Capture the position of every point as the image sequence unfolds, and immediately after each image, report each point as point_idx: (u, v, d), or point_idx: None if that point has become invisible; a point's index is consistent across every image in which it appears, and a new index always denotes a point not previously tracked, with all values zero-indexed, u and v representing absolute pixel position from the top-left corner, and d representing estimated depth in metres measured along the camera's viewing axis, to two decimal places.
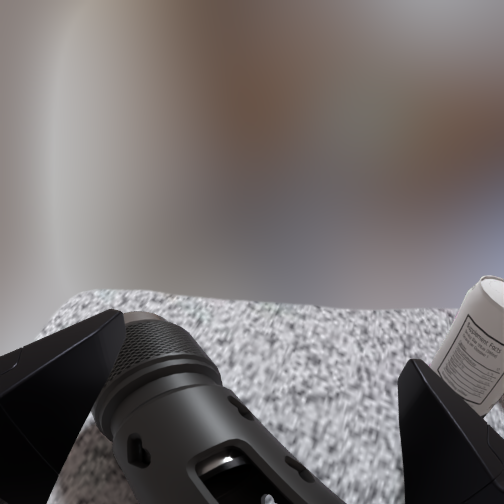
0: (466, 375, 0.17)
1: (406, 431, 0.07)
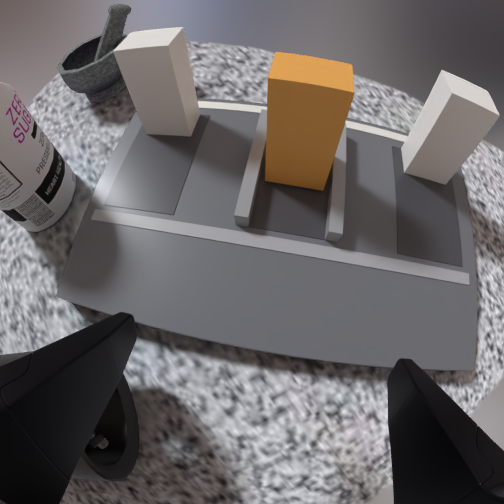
0: None
1: (395, 431, 0.07)
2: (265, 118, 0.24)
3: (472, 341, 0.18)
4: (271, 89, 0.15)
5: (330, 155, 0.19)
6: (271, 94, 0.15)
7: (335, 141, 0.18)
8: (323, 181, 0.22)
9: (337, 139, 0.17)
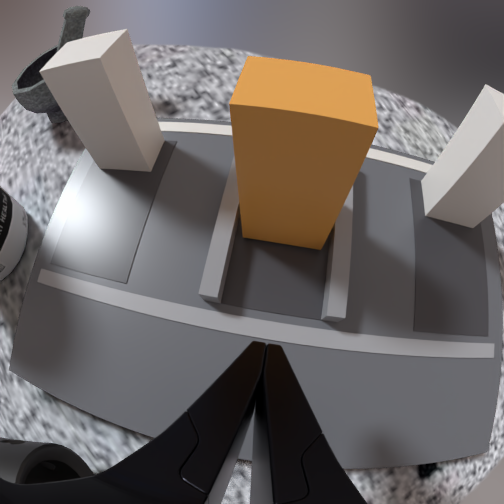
0: None
1: (255, 422, 0.07)
2: None
3: (489, 422, 0.13)
4: (237, 122, 0.09)
5: (332, 213, 0.13)
6: (238, 130, 0.10)
7: (341, 196, 0.12)
8: (321, 240, 0.16)
9: (344, 193, 0.12)
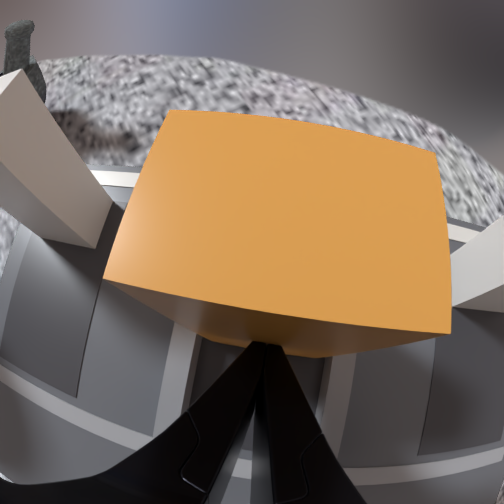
0: None
1: (255, 422, 0.07)
2: None
3: None
4: (137, 296, 0.04)
5: (332, 353, 0.09)
6: (146, 301, 0.05)
7: (347, 352, 0.07)
8: (315, 356, 0.11)
9: (352, 351, 0.07)
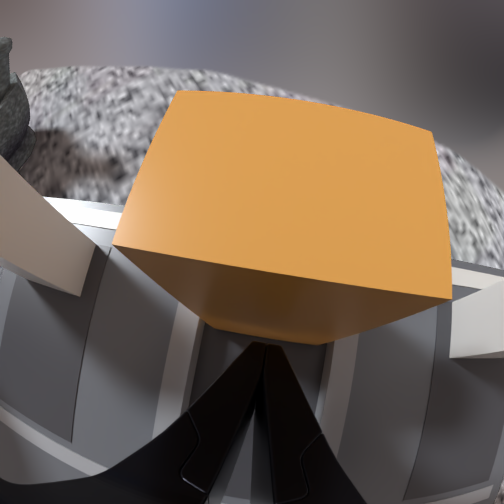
0: None
1: (255, 422, 0.07)
2: None
3: None
4: (144, 266, 0.04)
5: (335, 336, 0.09)
6: (153, 272, 0.05)
7: (350, 332, 0.07)
8: (317, 343, 0.12)
9: (355, 331, 0.07)
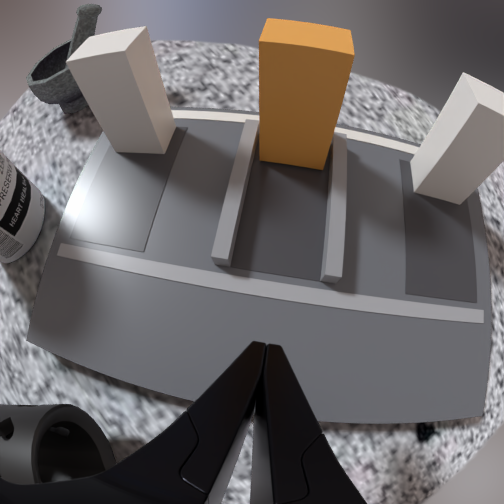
0: None
1: (255, 422, 0.07)
2: (250, 130, 0.21)
3: (482, 386, 0.15)
4: (263, 54, 0.13)
5: (330, 128, 0.17)
6: (263, 59, 0.13)
7: (335, 112, 0.15)
8: (323, 158, 0.20)
9: (337, 109, 0.15)
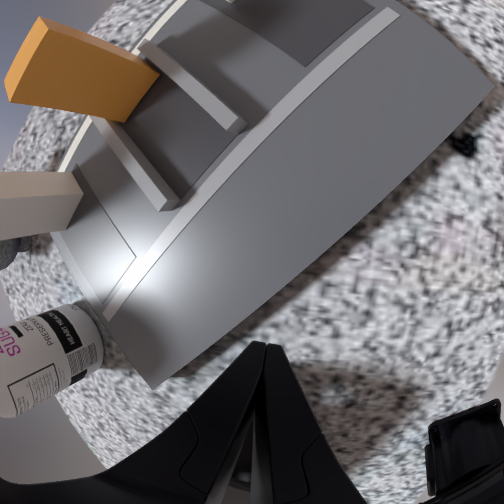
0: (44, 394, 0.21)
1: (255, 422, 0.07)
2: (97, 118, 0.19)
3: (464, 62, 0.11)
4: (22, 100, 0.11)
5: (116, 59, 0.14)
6: (27, 101, 0.12)
7: (100, 52, 0.13)
8: (147, 71, 0.17)
9: (98, 49, 0.13)
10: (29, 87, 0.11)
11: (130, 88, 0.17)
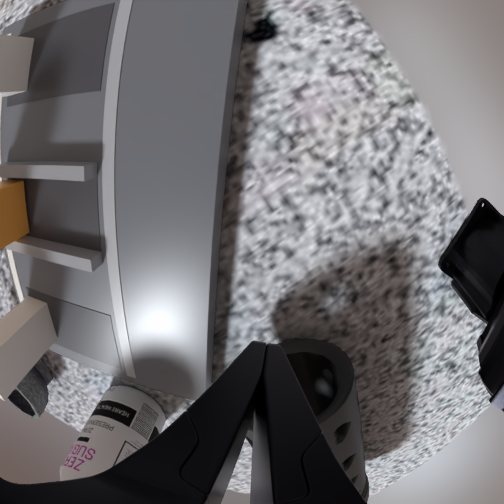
0: None
1: (255, 422, 0.07)
2: (11, 244, 0.20)
3: None
4: None
5: None
6: None
7: None
8: (12, 187, 0.18)
9: None
10: None
11: (12, 207, 0.18)
